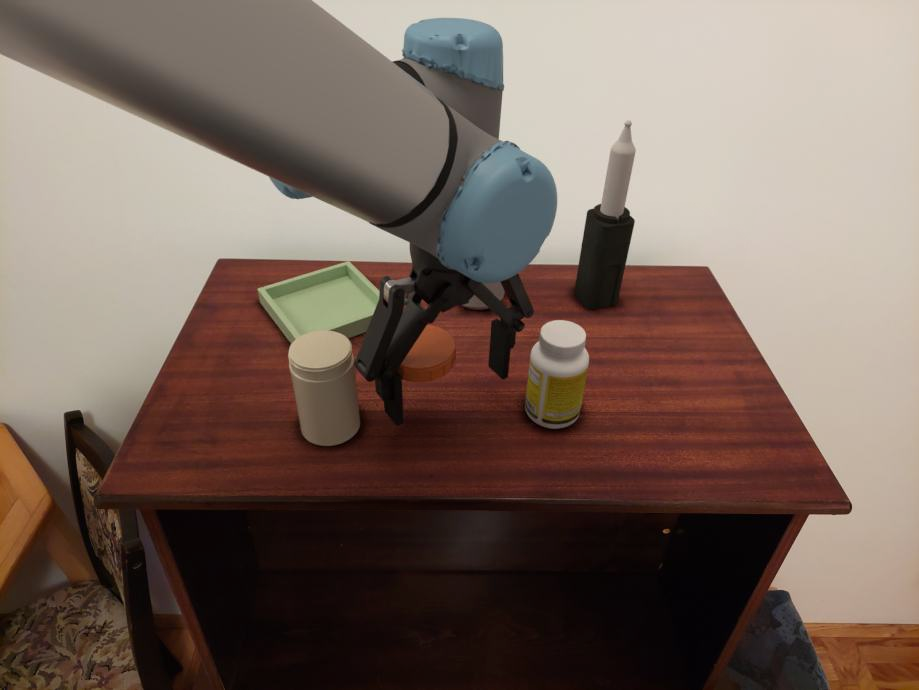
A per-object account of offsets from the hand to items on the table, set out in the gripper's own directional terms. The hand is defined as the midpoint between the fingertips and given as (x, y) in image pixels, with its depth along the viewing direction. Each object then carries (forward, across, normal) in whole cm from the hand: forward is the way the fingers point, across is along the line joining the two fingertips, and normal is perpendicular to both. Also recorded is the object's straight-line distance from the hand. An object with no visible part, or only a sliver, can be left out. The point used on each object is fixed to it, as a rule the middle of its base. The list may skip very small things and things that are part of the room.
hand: (448, 394), depth 70 cm
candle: (+3, -30, -8) cm, 31 cm away
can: (+3, -16, -17) cm, 24 cm away
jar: (+3, +12, -6) cm, 13 cm away
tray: (+3, +3, -25) cm, 25 cm away
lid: (-7, +3, -1) cm, 7 cm away
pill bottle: (+3, -10, +6) cm, 12 cm away
